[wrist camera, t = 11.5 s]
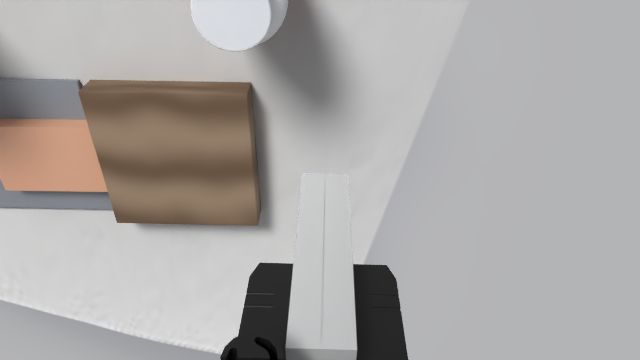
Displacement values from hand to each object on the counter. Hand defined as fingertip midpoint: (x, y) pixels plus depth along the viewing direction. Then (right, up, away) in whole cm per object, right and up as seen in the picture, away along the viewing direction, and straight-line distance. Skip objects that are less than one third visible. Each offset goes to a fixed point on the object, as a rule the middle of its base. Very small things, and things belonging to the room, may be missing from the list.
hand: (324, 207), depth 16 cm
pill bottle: (-5, +17, +21) cm, 27 cm away
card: (-26, +4, +30) cm, 39 cm away
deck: (-13, +4, +30) cm, 33 cm away
